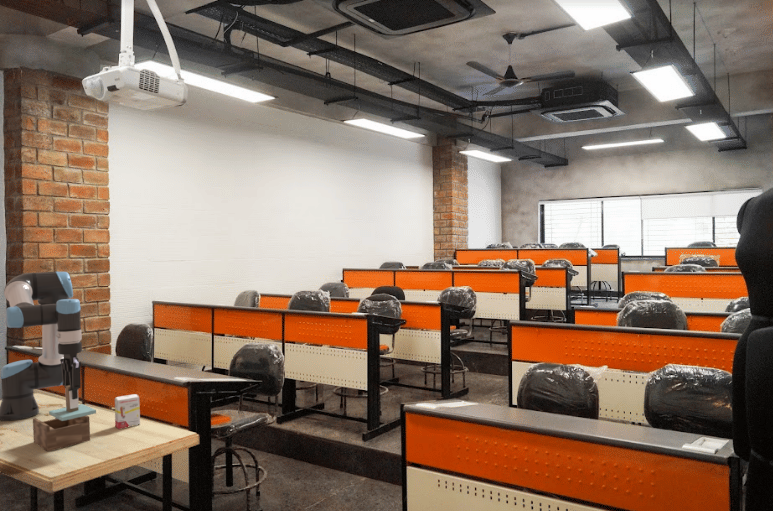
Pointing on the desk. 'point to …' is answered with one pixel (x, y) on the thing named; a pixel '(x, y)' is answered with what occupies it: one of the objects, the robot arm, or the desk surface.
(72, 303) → the robot arm
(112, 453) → the desk surface
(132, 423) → the ink box
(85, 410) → the lid
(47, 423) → the walnut box
